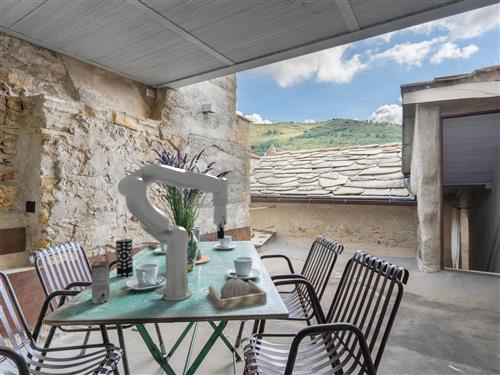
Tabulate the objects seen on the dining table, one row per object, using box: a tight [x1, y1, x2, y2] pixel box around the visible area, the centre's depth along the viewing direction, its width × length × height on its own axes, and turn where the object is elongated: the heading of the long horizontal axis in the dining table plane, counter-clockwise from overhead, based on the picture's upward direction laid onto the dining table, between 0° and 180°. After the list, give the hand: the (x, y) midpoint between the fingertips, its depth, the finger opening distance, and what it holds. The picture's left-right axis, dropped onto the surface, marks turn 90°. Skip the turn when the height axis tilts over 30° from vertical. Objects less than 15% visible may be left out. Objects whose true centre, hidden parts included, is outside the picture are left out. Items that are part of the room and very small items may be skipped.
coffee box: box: [90, 260, 111, 304], centre depth 129 cm, size 9×6×16 cm
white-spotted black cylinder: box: [115, 238, 134, 278], centre depth 164 cm, size 8×8×20 cm
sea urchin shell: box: [220, 278, 252, 299], centre depth 128 cm, size 13×14×8 cm
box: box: [208, 279, 268, 310], centre depth 128 cm, size 20×19×4 cm
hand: (220, 238), depth 147 cm, fingers closed
